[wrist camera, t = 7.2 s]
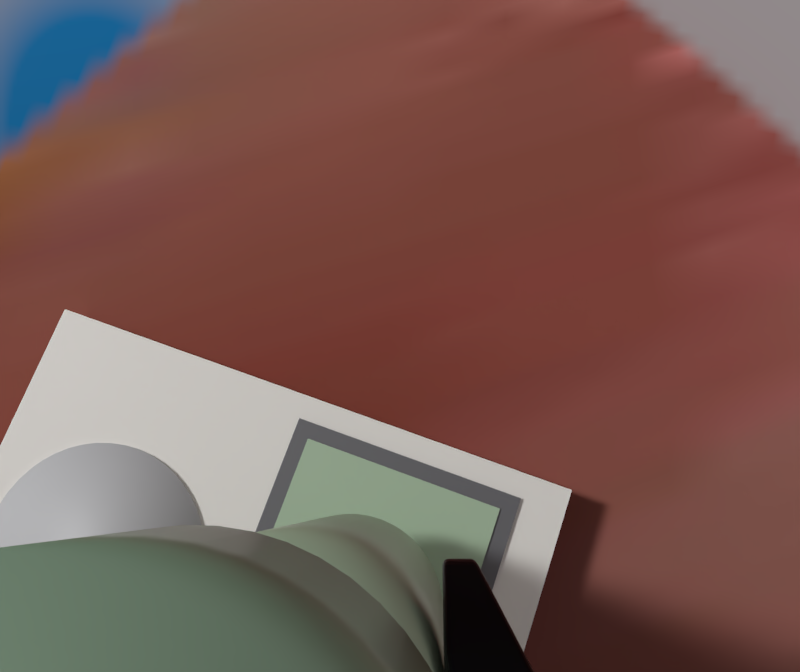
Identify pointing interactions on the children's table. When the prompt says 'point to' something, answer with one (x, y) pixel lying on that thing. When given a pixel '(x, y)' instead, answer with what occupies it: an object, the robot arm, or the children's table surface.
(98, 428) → the white flat rectangular board
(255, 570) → the green joystick knob
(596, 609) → the children's table surface
